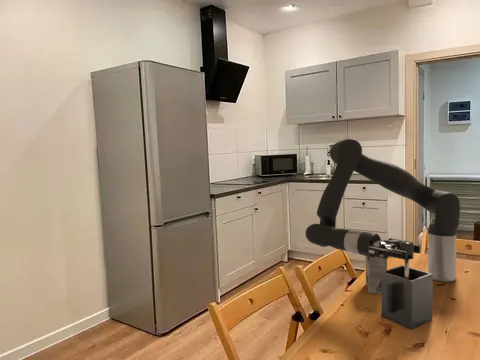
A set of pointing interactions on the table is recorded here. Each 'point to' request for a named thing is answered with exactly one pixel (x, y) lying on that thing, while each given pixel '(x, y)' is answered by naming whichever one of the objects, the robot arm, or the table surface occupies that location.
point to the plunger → (409, 249)
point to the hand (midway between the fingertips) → (413, 252)
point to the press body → (406, 297)
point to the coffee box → (374, 273)
